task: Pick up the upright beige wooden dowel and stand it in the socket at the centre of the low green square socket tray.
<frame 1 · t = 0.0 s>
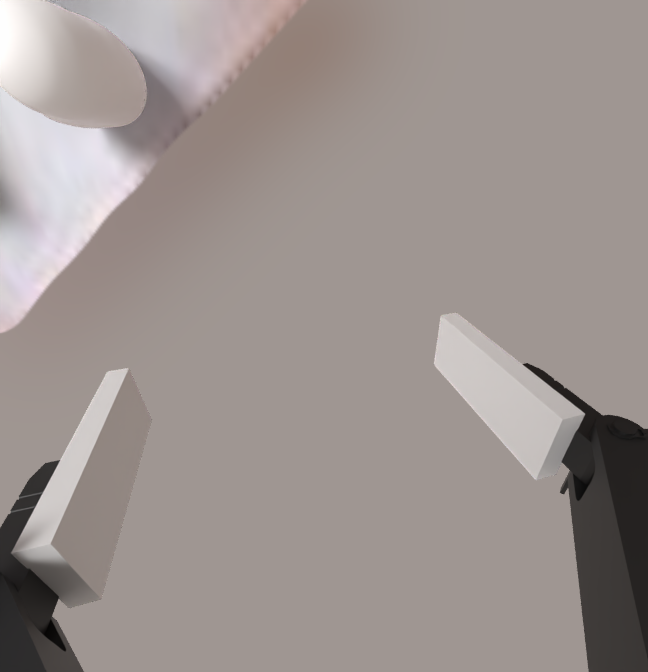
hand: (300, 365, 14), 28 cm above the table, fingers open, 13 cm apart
figurine: (103, 82, 29), on the table
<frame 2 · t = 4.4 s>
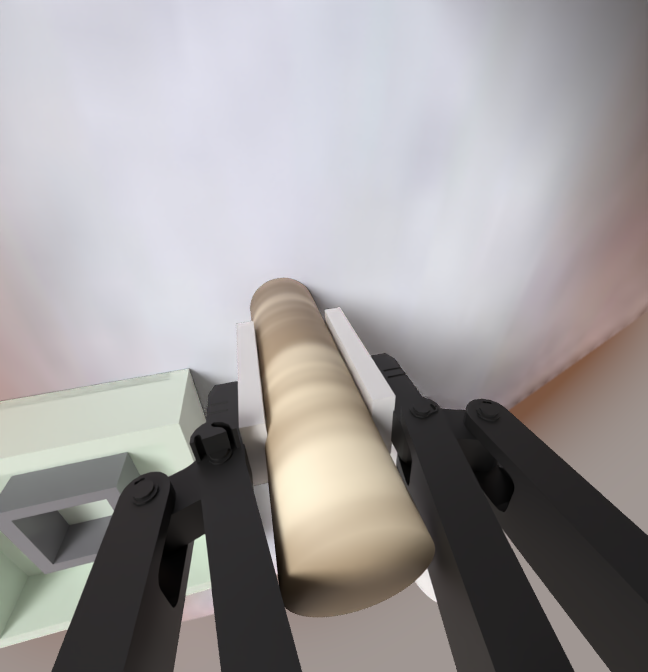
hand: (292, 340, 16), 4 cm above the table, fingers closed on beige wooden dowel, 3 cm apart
green square socket tray: (97, 484, 23), on the table
beige wooden dowel: (282, 307, 19), on the table, touching gripper
figurine: (399, 424, 27), on the table
when the fingers open (6 cm above the table, at t = 9.0 s): beige wooden dowel drops 2 cm, resting on green square socket tray.
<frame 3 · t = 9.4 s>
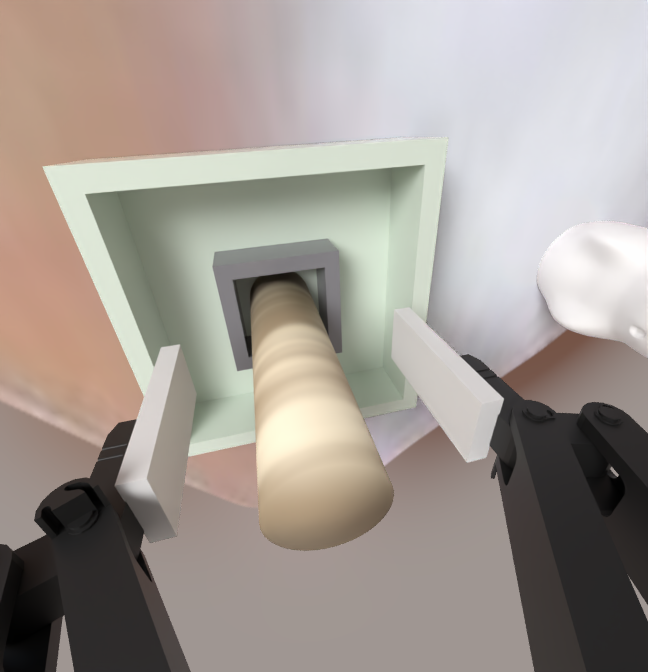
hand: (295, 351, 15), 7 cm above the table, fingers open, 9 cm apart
green square socket tray: (278, 291, 21), on the table
beige wooden dowel: (279, 296, 21), point 1 cm above the table, touching green square socket tray
figurine: (564, 261, 26), on the table
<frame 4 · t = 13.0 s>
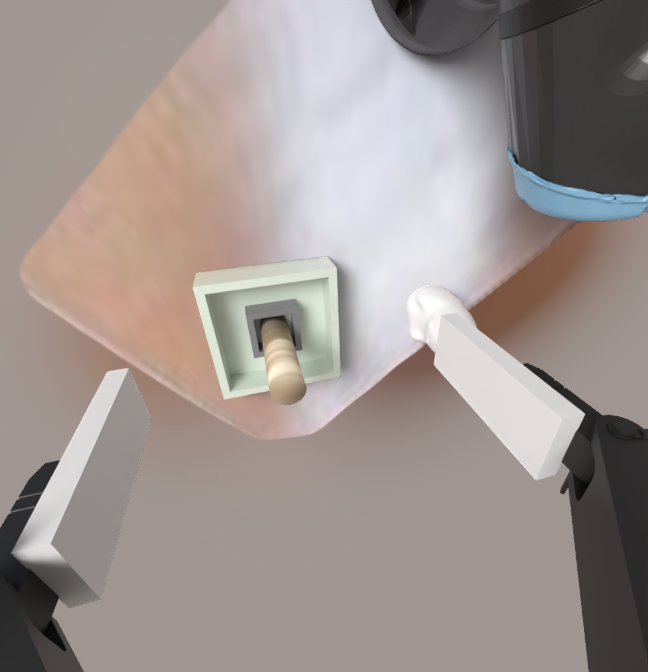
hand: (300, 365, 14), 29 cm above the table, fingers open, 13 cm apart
green square socket tray: (272, 321, 45), on the table
beige wooden dowel: (273, 324, 45), point 1 cm above the table, touching green square socket tray
figurine: (421, 303, 50), on the table
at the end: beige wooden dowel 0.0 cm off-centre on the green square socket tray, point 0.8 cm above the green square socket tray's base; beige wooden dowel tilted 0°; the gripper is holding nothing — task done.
